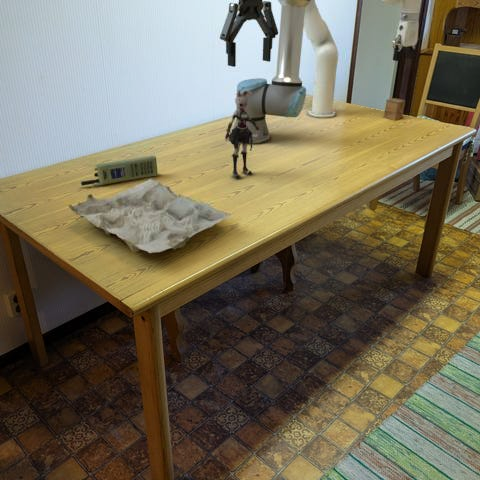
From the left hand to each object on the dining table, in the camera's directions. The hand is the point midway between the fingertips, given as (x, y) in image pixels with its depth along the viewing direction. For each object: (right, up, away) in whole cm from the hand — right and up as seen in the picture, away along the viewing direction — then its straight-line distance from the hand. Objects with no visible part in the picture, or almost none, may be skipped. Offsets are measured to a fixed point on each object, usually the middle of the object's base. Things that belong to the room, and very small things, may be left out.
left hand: (249, 63), depth 150 cm
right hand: (+69, +27, +73) cm, 104 cm away
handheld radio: (-42, -33, +16) cm, 56 cm away
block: (+69, +5, +86) cm, 110 cm away
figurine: (-3, -30, +22) cm, 38 cm away
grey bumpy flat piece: (-27, -49, -11) cm, 57 cm away
